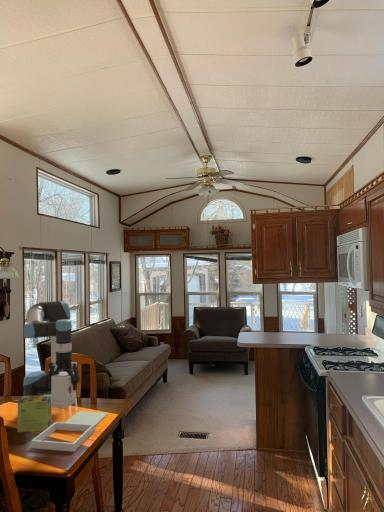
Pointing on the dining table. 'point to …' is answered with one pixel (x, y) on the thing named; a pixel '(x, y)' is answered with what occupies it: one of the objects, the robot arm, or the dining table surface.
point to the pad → (87, 418)
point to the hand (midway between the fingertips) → (64, 396)
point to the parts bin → (62, 446)
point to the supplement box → (61, 390)
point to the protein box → (34, 413)
